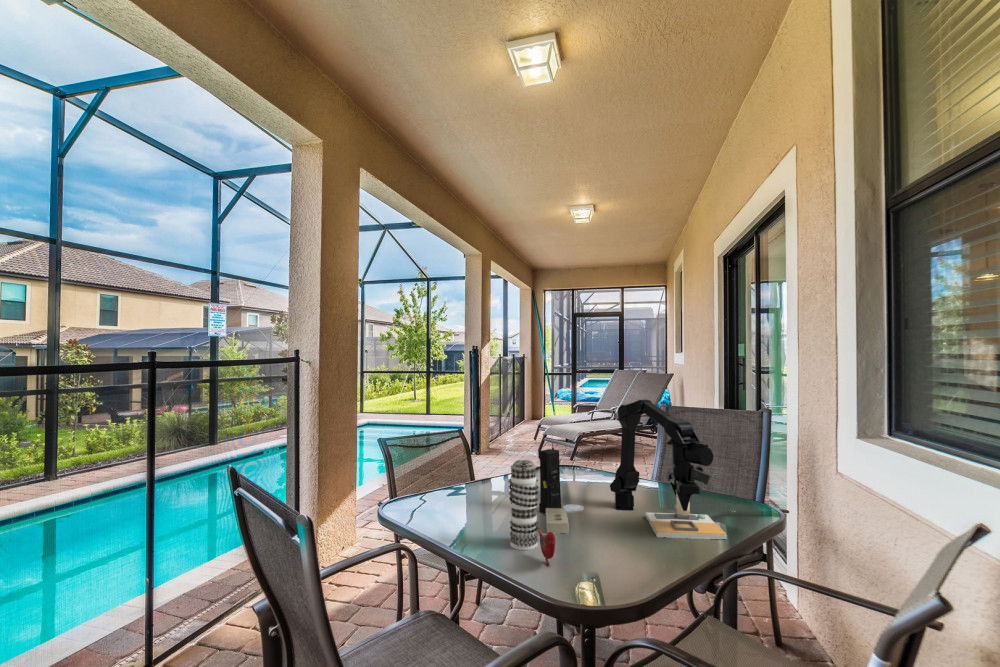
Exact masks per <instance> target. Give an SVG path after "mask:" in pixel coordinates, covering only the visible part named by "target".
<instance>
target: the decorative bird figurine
mask: <svg viewBox="0 0 1000 667" xmlns="http://www.w3.org/2000/svg"><path fill="white" fill-rule="evenodd" d="M537 532H538V536H539V545H540V550H541V553H542V555H543V557H544V558H545V559H544V560H545V562H546V565H547V566H549V567H551V565H550V562H549V560H551V559H552V558H554V555H555V551H556V537H555V534H553V533H552V532H549V533H547V532H546V534H543V533H542V530H540V528H539V527H538V529H537Z"/></svg>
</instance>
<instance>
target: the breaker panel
mask: <svg viewBox="0 0 1000 667" xmlns="http://www.w3.org/2000/svg"><path fill="white" fill-rule="evenodd" d="M645 518H646V519H647V522H648V521H649V522H648V524H649V525H650V527H651V529H652V530H653V533H654V534H655V535H656V538H663V537H666V538H665V539H667V538H669V539H686V538H688V539H689V538H690V539H691V540H692V539H693V540H710V539H727V540H728V535H727V533H726V532H725V530H723V529H722V528H721V527H720V526H719V525H718V524H717V523H716V522H715V521H714V520H713V519H712V518H711V517H710V516H709V515H708V514H702V513H697V514H695V513H690V515H689V518H677V517H676V515H675V513H671V512H670V513H667V512H645ZM688 539H687V540H688ZM690 539H689V540H690Z"/></svg>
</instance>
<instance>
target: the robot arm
mask: <svg viewBox="0 0 1000 667" xmlns="http://www.w3.org/2000/svg"><path fill="white" fill-rule="evenodd" d="M643 415H646V416H648V417H649V418H650V419H651V420H653V421H655V422H656V423H657V424H658V425H660V426H662V428H663V429H664V430H663V431H664V432H665V433H666V434H667V436H669V438H670V439H669V440H668V441H666V445H669V446H671V455H672V457H671V460H672V461H670V464H671V466H672V470H669V471H667V473H666V480H667V481H668V482H669V481H670V482H669V485H670V488H671V490H672V492H673V494H674V496H675V498H676V494H677V496H678V499H679V501H680V504H681V506H682V509H683V511H687V508H688V504H689V501H690V500H691V497H692V496H693V495H701V487H700V486H699V485H698V484H697V483H696V482H695V481H698V482H699V483H702V484H704V485H707V486H709V483H710V479H711V477H712V475H710V474H709V473H707V472H706V471H704V467H709V466H711V465H712V463H713V461H714V453H713V451H712V449H711V448H709V444H708V443H706V442H705V443H702V441H701V440H700V438H699V436H698V434H697V433H696V431H695V429H694V428H693V424H692V423H691V422H690V421H687V420H685V419H682V418H679V417H675V416H672V415H671V414H669V413H668V412H667V411H665V410H663V409H662V408H661V407H659V406H657V405H656V404H654V402H652V401H651V400H650V399H648V398H647V399H638V400H636V401H634V402H630V403H628V404H621V405H620V406H619V407H617V418H618V422H619V424H620V426H621V445H620V446H621V448H620V465H619V466H618V468H617V469H616V470H615V476H614V479H613V480H612V482H611V483H610V484H609V487H610V488H609V489H610V491H611V492H613V493H614V503H613V504H614V507H615V510H620V511H621V510H622V511H623V510H624V511H633V510H634V507H635V496H634V494H633V492H637V487H638V485H639V483H640V471H638V470H637V469H636V467H635V453H636V450H635V447H636V431H637V430H636V428H637V427H638V425H639V424H640V422H641V418H642V416H643ZM694 464H696V466H695V467H694ZM702 466H703V467H702Z"/></svg>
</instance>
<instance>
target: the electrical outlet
mask: <svg viewBox="0 0 1000 667" xmlns="http://www.w3.org/2000/svg"><path fill="white" fill-rule="evenodd" d="M545 524H546V527H545V528H547V529H546V534H547V533H549V532H552V533H569V534H570V523H569V518H568V514H567V510H566V508H563V507H562V508H546V514H545Z"/></svg>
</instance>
